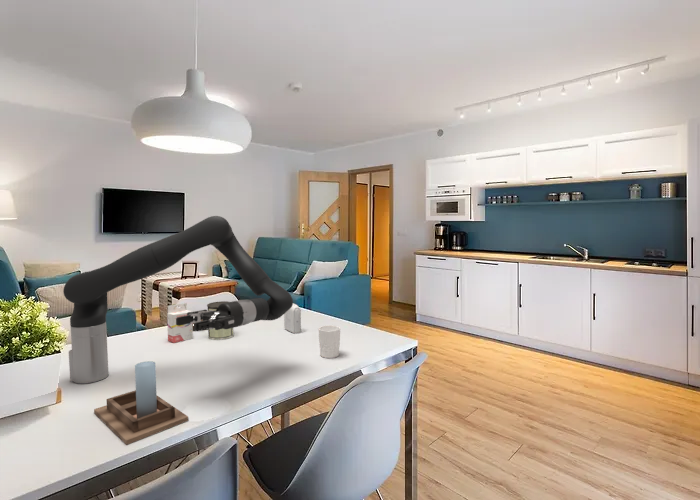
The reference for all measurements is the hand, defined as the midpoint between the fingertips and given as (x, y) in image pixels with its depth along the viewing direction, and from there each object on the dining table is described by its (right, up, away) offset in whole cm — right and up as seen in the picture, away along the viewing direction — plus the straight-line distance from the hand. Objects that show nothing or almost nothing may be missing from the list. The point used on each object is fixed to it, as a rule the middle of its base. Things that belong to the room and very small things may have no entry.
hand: (185, 324), depth 103 cm
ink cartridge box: (-27, -18, +60) cm, 68 cm away
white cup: (+36, -19, +40) cm, 57 cm away
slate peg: (-6, -21, -7) cm, 23 cm away
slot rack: (-9, -22, -4) cm, 25 cm away
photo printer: (+17, -17, +73) cm, 77 cm away
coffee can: (-12, -18, +65) cm, 68 cm away
